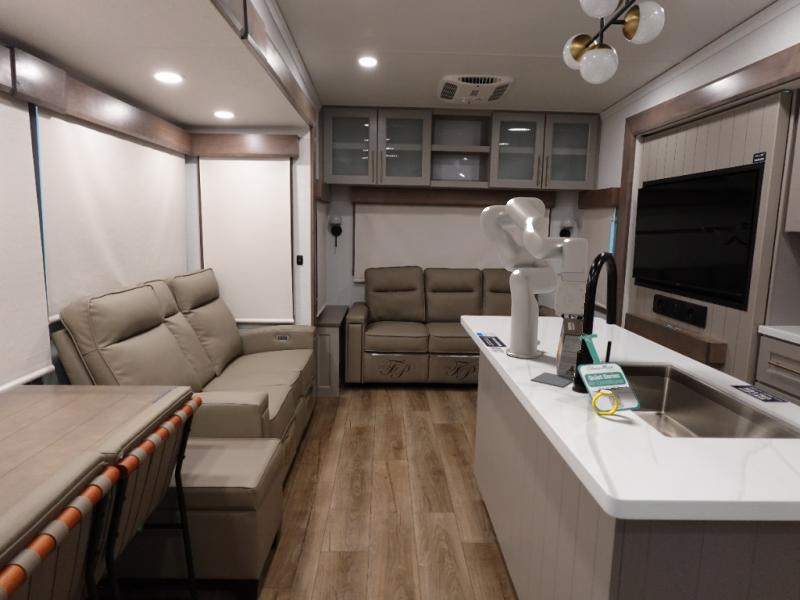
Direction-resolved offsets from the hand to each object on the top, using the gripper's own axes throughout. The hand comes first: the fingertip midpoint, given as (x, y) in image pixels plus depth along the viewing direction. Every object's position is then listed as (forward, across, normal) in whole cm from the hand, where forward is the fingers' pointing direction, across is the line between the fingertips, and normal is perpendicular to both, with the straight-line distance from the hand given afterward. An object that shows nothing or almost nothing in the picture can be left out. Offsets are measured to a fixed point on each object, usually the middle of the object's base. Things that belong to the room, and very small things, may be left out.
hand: (571, 335), depth 157 cm
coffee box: (+10, 0, -2) cm, 11 cm away
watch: (+13, +20, -30) cm, 38 cm away
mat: (+12, -1, -11) cm, 17 cm away
